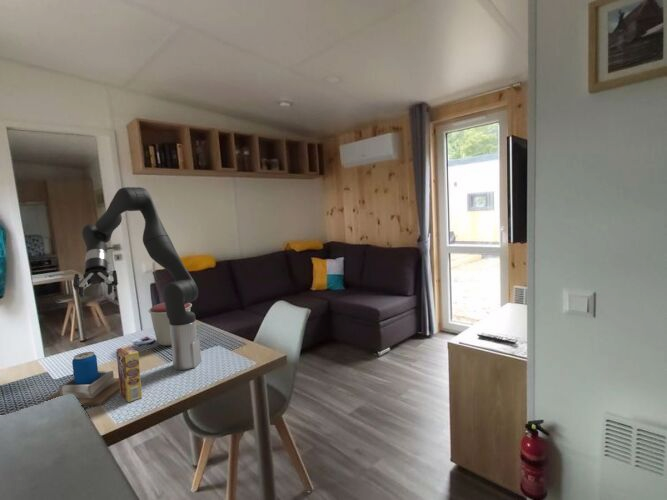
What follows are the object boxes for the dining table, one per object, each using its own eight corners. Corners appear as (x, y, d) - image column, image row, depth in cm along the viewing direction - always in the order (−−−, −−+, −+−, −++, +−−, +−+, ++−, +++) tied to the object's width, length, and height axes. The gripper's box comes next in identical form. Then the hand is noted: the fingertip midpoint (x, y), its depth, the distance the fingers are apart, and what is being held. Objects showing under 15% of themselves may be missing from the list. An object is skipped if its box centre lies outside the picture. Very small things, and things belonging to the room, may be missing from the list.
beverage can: (96, 383, 117) (92, 349, 116) (102, 388, 113) (98, 354, 112) (73, 391, 112) (69, 356, 111) (79, 397, 108) (74, 361, 107)
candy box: (143, 397, 108) (138, 351, 107) (128, 403, 105) (123, 356, 104) (134, 388, 114) (129, 345, 113) (119, 393, 111) (115, 349, 110)
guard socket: (133, 380, 120) (131, 366, 120) (101, 405, 104) (99, 390, 104) (78, 381, 121) (76, 368, 120) (38, 407, 105) (36, 391, 104)
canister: (156, 337, 164) (152, 295, 162) (196, 332, 169) (192, 291, 167) (147, 351, 147) (143, 304, 144) (192, 345, 152) (188, 299, 150)
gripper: (73, 258, 133) (70, 292, 124) (115, 255, 140) (116, 287, 131) (77, 270, 138) (75, 303, 129) (118, 266, 145) (118, 297, 136)
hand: (95, 295), depth 130 cm, fingers open, 8 cm apart
